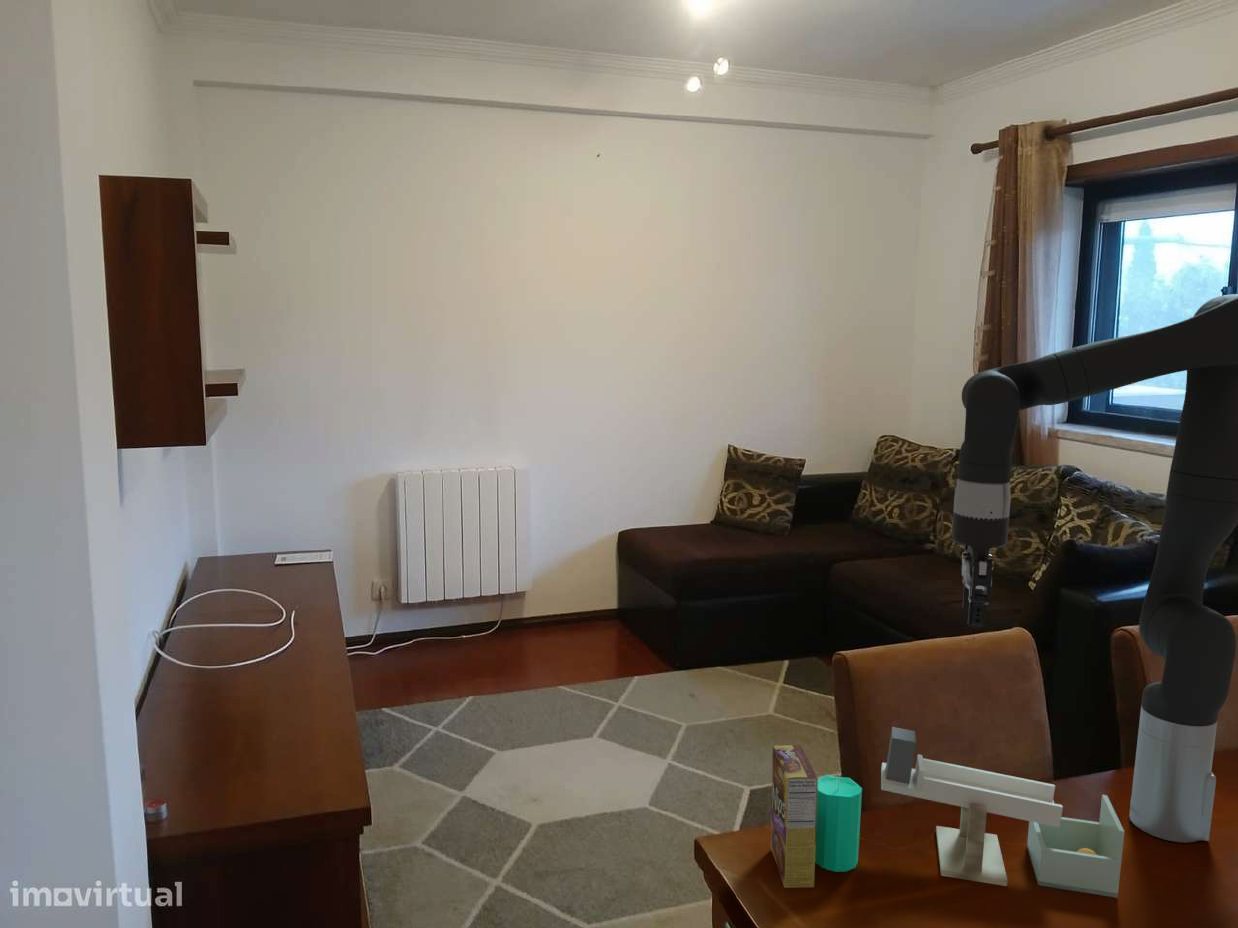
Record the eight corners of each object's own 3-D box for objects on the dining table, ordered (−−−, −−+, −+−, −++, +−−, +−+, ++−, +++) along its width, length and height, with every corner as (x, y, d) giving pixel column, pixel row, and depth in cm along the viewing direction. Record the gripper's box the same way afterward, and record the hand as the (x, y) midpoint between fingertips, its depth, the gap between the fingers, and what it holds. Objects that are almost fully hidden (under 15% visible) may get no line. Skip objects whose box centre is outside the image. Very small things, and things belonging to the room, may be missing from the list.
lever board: (1049, 807, 124) (1059, 754, 123) (1058, 833, 118) (1069, 778, 116) (880, 772, 130) (888, 720, 128) (880, 795, 123) (888, 742, 122)
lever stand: (996, 839, 129) (1001, 775, 127) (1007, 886, 118) (1013, 816, 117) (935, 830, 131) (940, 767, 129) (941, 875, 120) (946, 806, 119)
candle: (858, 874, 120) (863, 788, 118) (811, 868, 122) (816, 783, 120) (856, 848, 126) (861, 766, 124) (811, 843, 127) (815, 761, 125)
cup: (1100, 857, 125) (1107, 795, 123) (1117, 897, 116) (1124, 831, 115) (1027, 845, 127) (1032, 785, 126) (1038, 884, 119) (1044, 819, 117)
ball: (1068, 859, 123) (1092, 868, 122) (1073, 871, 120) (1097, 881, 119) (1077, 839, 122) (1100, 848, 121) (1081, 852, 119) (1106, 861, 118)
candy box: (767, 849, 126) (771, 743, 123) (798, 848, 126) (803, 743, 124) (781, 889, 117) (786, 776, 115) (814, 889, 117) (820, 776, 115)
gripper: (1016, 523, 125) (1006, 637, 128) (1002, 503, 139) (994, 607, 142) (957, 519, 127) (949, 632, 130) (950, 499, 141) (942, 602, 144)
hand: (972, 618), depth 136 cm, fingers open, 8 cm apart
